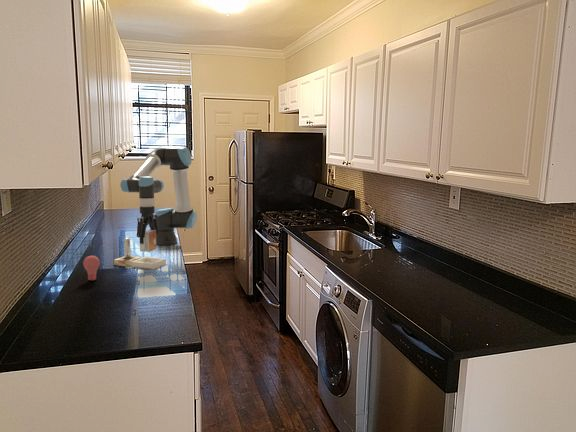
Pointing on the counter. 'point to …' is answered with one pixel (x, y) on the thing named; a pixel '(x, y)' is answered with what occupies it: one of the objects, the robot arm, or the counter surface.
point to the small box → (150, 240)
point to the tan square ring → (125, 261)
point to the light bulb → (91, 266)
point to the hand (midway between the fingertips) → (148, 247)
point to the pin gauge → (127, 248)
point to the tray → (149, 263)
